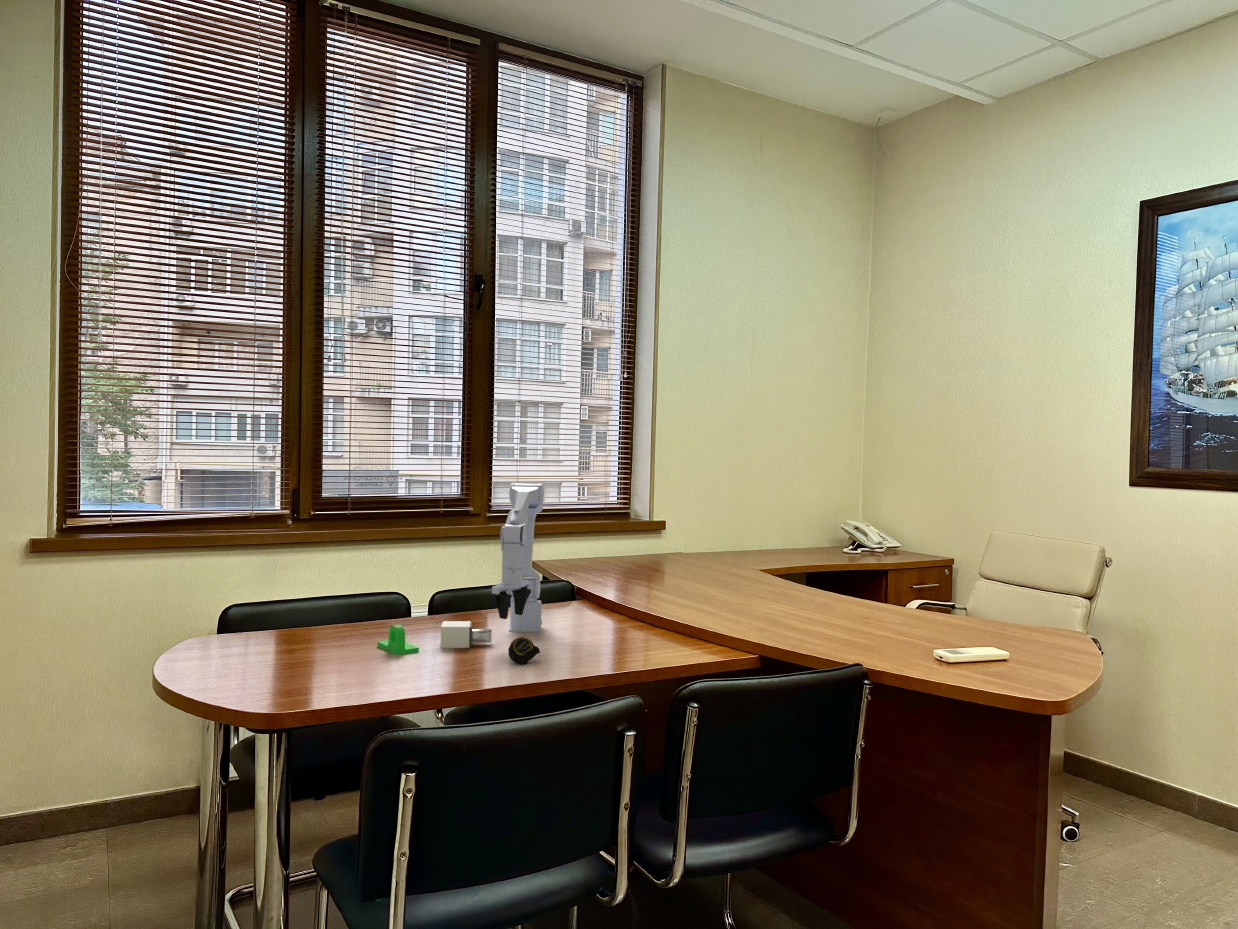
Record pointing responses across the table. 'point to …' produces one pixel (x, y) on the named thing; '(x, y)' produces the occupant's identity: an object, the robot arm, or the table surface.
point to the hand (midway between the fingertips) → (511, 616)
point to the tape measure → (522, 650)
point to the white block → (456, 634)
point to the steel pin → (481, 635)
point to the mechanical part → (397, 642)
